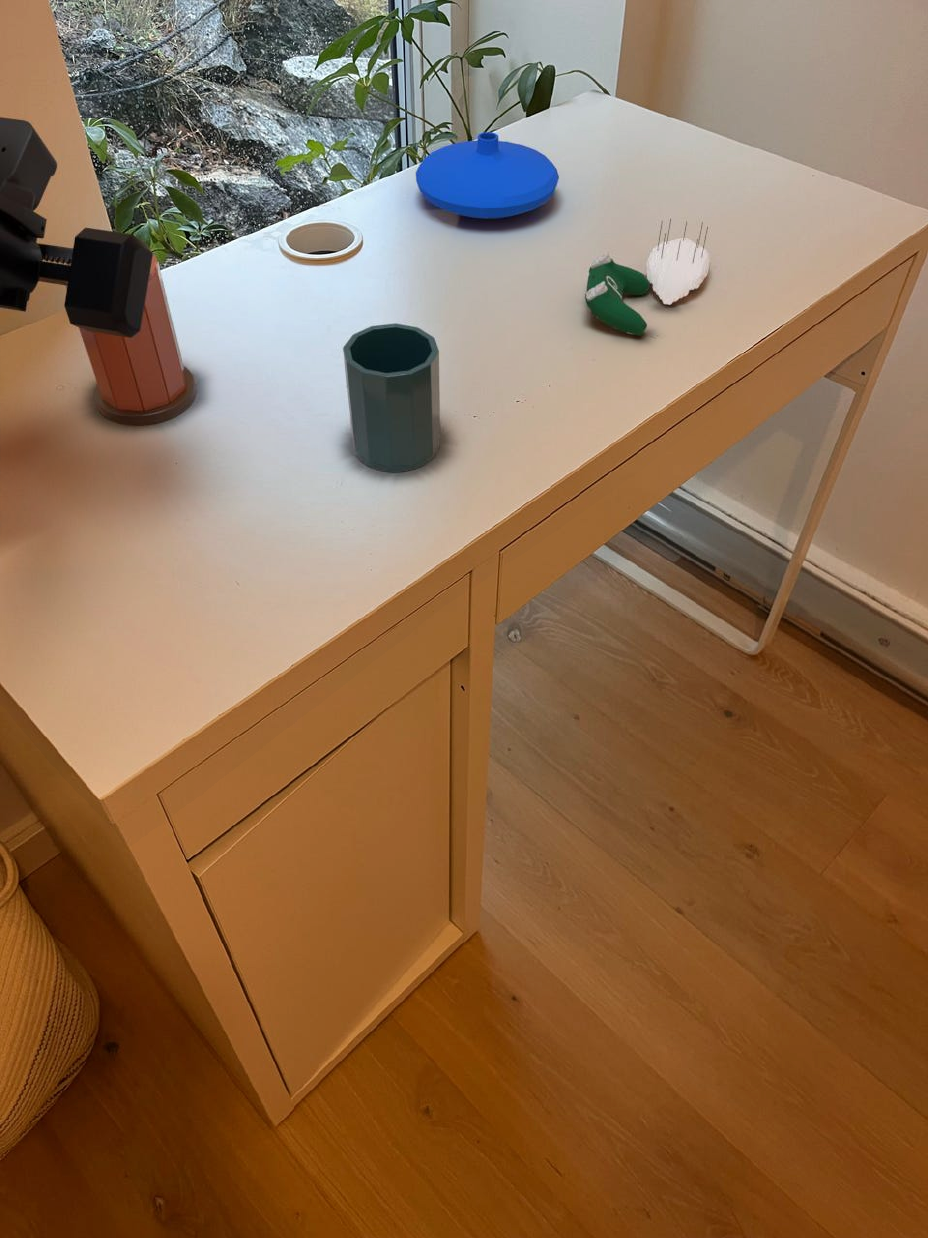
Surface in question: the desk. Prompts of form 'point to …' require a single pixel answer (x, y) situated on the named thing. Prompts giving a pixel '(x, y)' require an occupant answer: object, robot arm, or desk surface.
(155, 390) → the fluted orange cylinder
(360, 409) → the teal cup
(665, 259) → the pincushion
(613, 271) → the green christmas stockings
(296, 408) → the desk surface
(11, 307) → the robot arm
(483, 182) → the vase
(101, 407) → the towel holder
